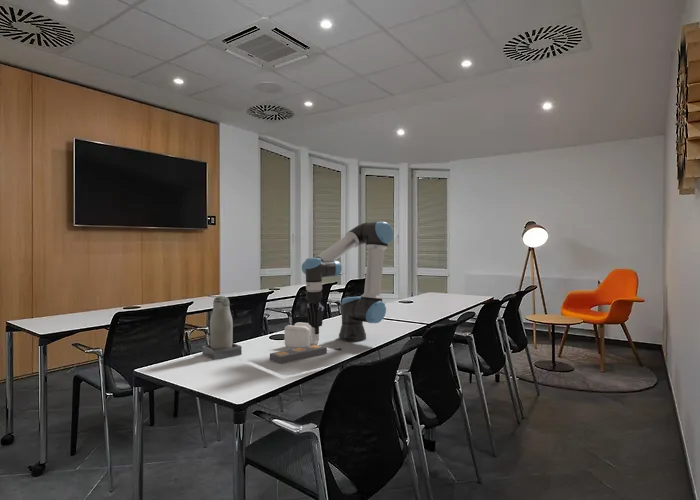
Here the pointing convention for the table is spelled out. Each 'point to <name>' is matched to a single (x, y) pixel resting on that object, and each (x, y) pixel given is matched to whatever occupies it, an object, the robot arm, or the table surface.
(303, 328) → the cable organizer
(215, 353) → the bottle coaster rim
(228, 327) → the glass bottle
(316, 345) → the button
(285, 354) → the button
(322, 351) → the power strip
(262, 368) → the table surface
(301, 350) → the button
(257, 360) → the table surface
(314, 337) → the robot arm
